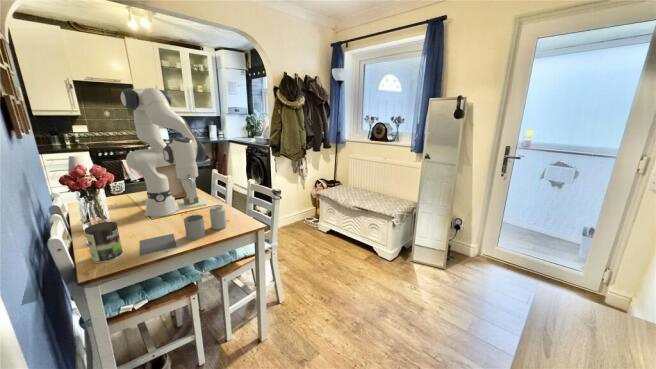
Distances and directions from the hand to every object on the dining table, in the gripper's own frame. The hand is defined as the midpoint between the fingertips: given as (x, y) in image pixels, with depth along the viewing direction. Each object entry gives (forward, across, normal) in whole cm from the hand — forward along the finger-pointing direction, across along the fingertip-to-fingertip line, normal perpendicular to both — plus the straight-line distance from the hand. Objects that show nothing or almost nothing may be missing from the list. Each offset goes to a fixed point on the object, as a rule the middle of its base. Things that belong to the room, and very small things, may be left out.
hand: (191, 201), depth 125 cm
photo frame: (+19, +74, +7) cm, 77 cm away
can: (+19, +5, -12) cm, 23 cm away
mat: (+19, +1, +16) cm, 25 cm away
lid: (+2, 0, 0) cm, 2 cm away
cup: (+19, 0, 0) cm, 19 cm away
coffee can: (+19, 0, +34) cm, 39 cm away
